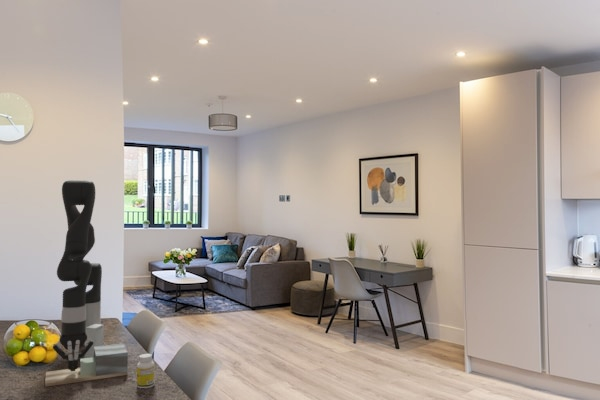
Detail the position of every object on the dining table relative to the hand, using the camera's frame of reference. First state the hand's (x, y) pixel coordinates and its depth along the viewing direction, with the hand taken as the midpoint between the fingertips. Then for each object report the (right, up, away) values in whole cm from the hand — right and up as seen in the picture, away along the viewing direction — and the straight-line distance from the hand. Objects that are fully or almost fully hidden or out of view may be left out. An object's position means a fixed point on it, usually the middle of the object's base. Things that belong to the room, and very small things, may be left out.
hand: (73, 370), depth 161 cm
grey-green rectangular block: (+8, -1, +4) cm, 9 cm away
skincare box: (-2, -3, +21) cm, 21 cm away
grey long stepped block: (+4, -2, +2) cm, 5 cm away
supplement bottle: (+27, -3, -8) cm, 28 cm away
